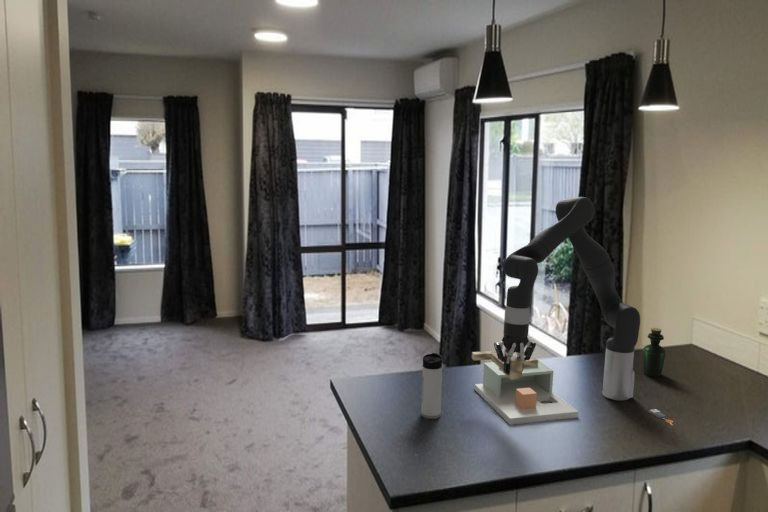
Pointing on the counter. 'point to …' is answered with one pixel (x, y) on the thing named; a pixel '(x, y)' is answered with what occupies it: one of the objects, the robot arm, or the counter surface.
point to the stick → (531, 362)
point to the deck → (538, 378)
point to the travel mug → (431, 386)
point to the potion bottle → (654, 354)
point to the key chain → (659, 415)
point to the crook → (502, 363)
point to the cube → (526, 398)
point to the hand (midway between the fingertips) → (512, 373)
